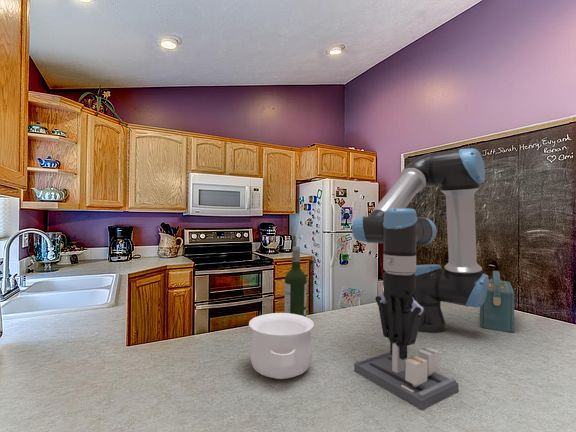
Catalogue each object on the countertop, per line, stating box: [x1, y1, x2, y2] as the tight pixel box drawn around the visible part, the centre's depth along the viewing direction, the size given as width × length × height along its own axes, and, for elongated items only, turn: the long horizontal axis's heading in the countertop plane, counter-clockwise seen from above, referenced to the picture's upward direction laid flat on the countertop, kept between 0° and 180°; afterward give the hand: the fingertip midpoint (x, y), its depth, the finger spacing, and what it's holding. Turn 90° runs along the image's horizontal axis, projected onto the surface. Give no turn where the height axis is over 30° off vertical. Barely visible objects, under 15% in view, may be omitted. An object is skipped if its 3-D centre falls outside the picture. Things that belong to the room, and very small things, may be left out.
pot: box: [248, 312, 315, 380], centre depth 84 cm, size 22×17×12 cm
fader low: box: [405, 355, 427, 388], centre depth 72 cm, size 3×4×6 cm
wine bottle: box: [283, 245, 308, 317], centre depth 115 cm, size 8×8×30 cm
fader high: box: [417, 347, 440, 376], centre depth 77 cm, size 3×4×6 cm
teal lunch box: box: [479, 270, 515, 333], centre depth 127 cm, size 26×11×20 cm, turn 148°
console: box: [353, 349, 460, 411], centre depth 79 cm, size 20×14×3 cm
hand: (398, 370), depth 76 cm, fingers closed
